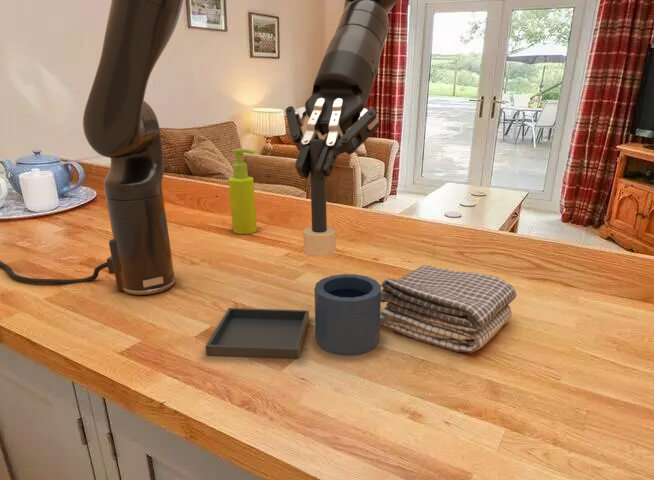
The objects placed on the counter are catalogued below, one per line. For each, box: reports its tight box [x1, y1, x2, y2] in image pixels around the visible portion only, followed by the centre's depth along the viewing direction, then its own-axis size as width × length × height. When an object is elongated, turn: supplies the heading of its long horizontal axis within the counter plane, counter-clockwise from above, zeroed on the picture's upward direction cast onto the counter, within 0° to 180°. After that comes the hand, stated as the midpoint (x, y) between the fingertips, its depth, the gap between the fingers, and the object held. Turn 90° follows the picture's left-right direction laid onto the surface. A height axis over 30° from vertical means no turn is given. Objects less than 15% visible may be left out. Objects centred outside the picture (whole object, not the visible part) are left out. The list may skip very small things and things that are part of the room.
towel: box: [380, 265, 517, 353], centre depth 78 cm, size 15×18×8 cm
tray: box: [205, 307, 310, 360], centre depth 74 cm, size 13×12×2 cm
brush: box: [302, 139, 337, 258], centre depth 65 cm, size 4×4×15 cm
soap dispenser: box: [228, 148, 258, 235], centre depth 119 cm, size 6×7×20 cm
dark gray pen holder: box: [314, 273, 382, 357], centre depth 72 cm, size 9×9×9 cm
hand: (311, 175), depth 62 cm, fingers closed on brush, 2 cm apart
